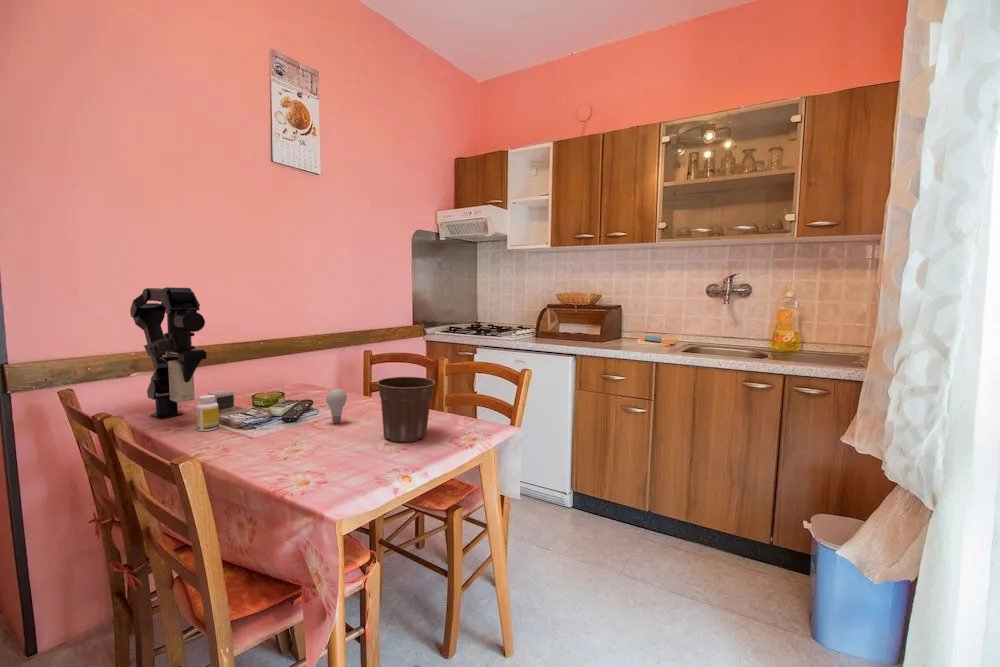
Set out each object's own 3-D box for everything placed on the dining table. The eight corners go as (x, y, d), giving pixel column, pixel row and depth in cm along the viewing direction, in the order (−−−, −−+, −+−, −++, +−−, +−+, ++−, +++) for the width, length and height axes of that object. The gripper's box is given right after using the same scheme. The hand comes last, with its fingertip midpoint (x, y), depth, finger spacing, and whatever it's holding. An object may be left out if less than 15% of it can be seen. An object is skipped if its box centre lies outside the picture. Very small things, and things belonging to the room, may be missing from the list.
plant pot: (429, 426, 140) (429, 375, 138) (439, 443, 124) (439, 386, 123) (375, 429, 134) (375, 377, 133) (378, 448, 119) (378, 388, 118)
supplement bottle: (223, 426, 133) (222, 394, 132) (209, 432, 128) (208, 398, 127) (206, 425, 134) (205, 393, 133) (192, 431, 129) (191, 397, 128)
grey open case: (196, 416, 143) (195, 393, 142) (231, 409, 152) (231, 387, 152) (236, 429, 131) (235, 404, 131) (271, 420, 141) (271, 397, 140)
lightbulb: (338, 427, 136) (338, 391, 135) (321, 424, 138) (321, 389, 137) (351, 421, 142) (350, 387, 141) (335, 419, 144) (334, 385, 143)
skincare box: (195, 400, 136) (194, 361, 135) (179, 403, 132) (178, 362, 131) (184, 397, 139) (183, 358, 138) (168, 400, 136) (167, 360, 134)
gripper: (132, 329, 131) (135, 381, 133) (163, 333, 122) (166, 389, 124) (175, 326, 141) (177, 375, 143) (207, 331, 132) (208, 383, 133)
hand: (181, 380), depth 135 cm, fingers closed on skincare box, 6 cm apart
